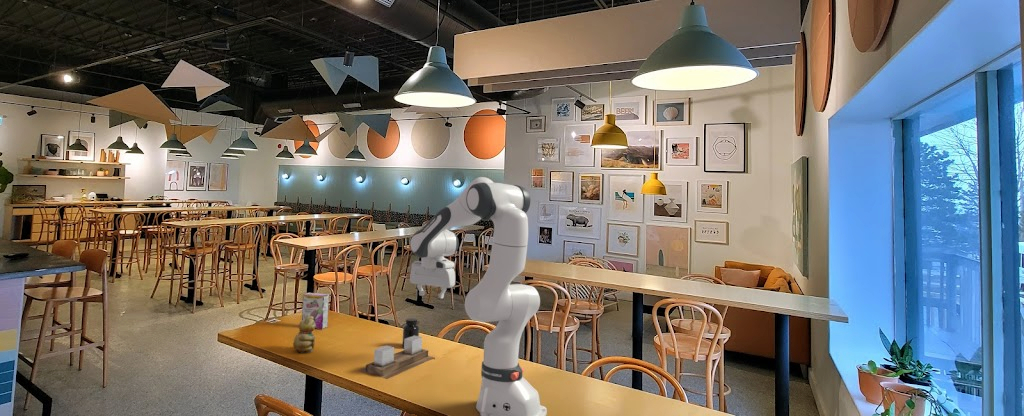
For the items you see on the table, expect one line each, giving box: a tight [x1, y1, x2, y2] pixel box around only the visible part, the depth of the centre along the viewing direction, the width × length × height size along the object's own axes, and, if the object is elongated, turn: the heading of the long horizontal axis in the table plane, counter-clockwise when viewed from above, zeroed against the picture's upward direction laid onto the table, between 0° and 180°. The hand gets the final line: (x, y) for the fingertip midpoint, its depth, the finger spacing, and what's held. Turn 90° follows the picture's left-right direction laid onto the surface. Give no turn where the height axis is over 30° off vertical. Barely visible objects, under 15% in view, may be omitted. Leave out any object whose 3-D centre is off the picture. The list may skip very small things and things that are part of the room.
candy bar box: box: [301, 292, 330, 330], centre depth 223 cm, size 11×5×16 cm, turn 82°
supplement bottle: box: [402, 317, 420, 348], centre depth 201 cm, size 7×7×12 cm
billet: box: [403, 335, 423, 356], centre depth 182 cm, size 4×6×8 cm, turn 152°
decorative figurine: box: [292, 314, 316, 353], centre depth 189 cm, size 10×8×15 cm
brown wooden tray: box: [358, 348, 436, 380], centre depth 175 cm, size 14×27×4 cm, turn 152°
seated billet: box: [373, 345, 395, 368], centre depth 168 cm, size 4×6×8 cm, turn 152°
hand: (431, 296), depth 183 cm, fingers open, 8 cm apart
